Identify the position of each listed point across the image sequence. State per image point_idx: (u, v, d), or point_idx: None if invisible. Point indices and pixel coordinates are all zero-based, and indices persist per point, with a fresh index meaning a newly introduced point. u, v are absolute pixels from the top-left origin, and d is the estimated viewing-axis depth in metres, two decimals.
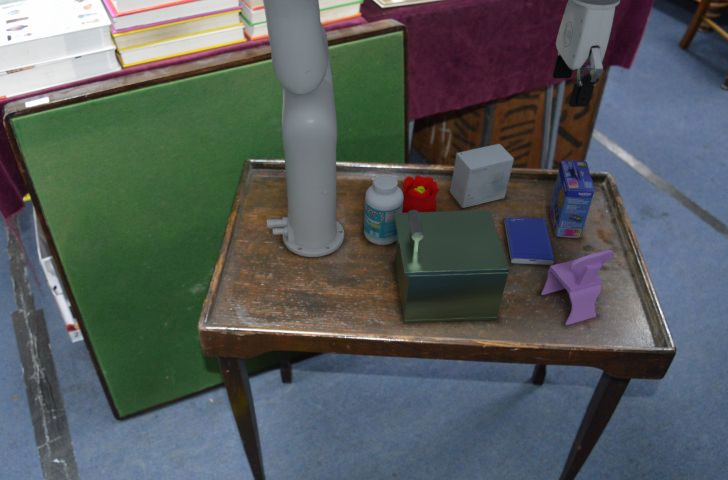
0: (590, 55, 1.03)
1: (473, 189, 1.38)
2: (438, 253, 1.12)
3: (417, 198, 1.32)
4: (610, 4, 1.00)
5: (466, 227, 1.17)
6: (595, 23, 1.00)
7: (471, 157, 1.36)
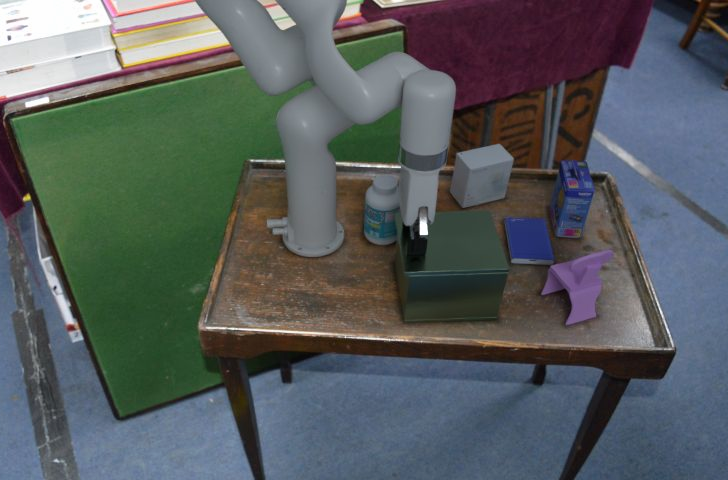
0: (418, 216, 1.04)
1: (473, 189, 1.38)
2: (438, 253, 1.12)
3: None
4: (433, 170, 1.00)
5: (466, 227, 1.17)
6: (419, 188, 1.01)
7: (471, 157, 1.36)
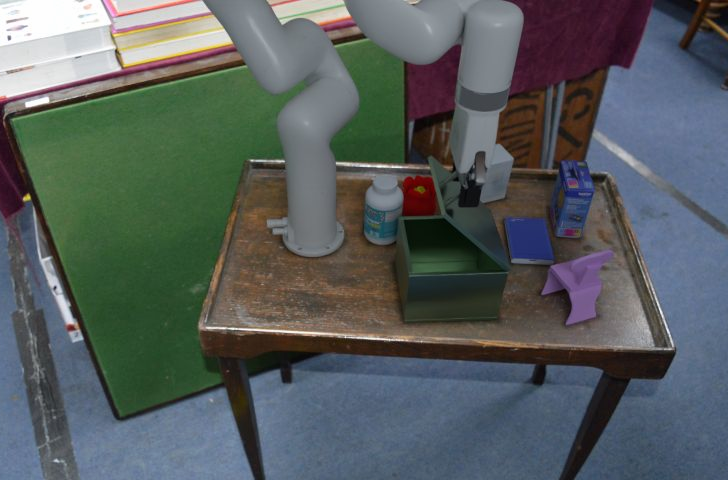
0: (475, 162, 0.97)
1: None
2: (465, 217, 1.07)
3: (417, 198, 1.32)
4: (493, 110, 0.93)
5: (479, 211, 1.15)
6: (478, 130, 0.94)
7: None
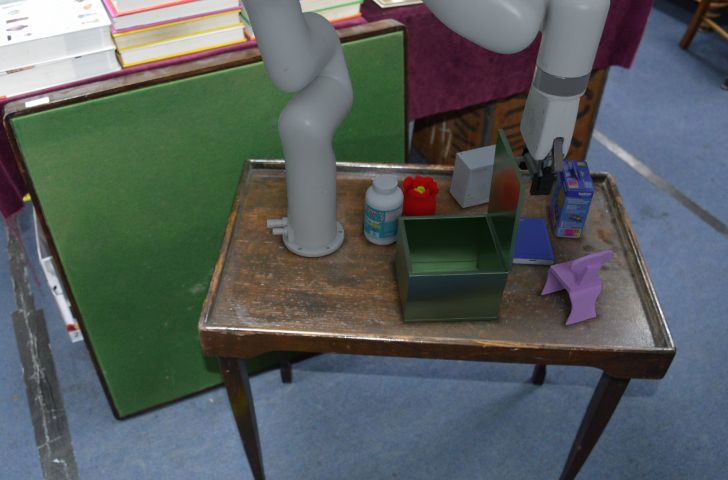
0: (552, 148, 0.96)
1: (473, 189, 1.38)
2: None
3: (417, 198, 1.32)
4: (574, 95, 0.92)
5: None
6: (558, 115, 0.93)
7: (471, 157, 1.36)
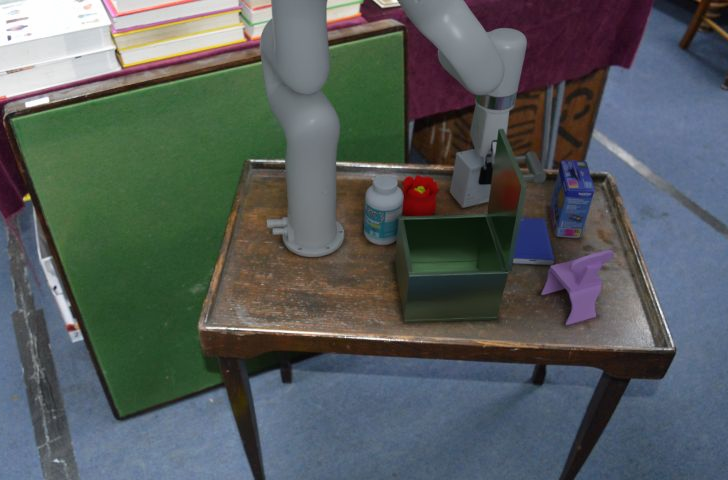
0: (491, 148, 1.29)
1: (473, 189, 1.38)
2: None
3: (417, 198, 1.32)
4: (505, 109, 1.25)
5: None
6: (493, 124, 1.26)
7: (470, 156, 1.36)
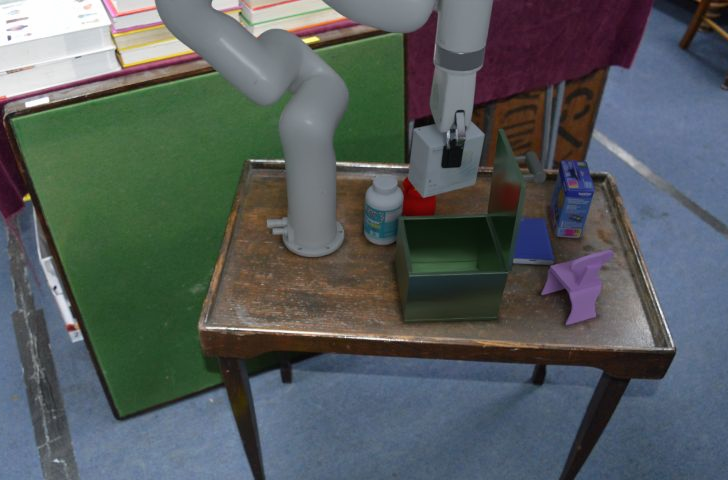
0: (455, 120, 1.02)
1: (435, 174, 1.10)
2: None
3: (417, 198, 1.32)
4: (470, 70, 0.98)
5: None
6: (456, 89, 0.99)
7: (431, 133, 1.09)
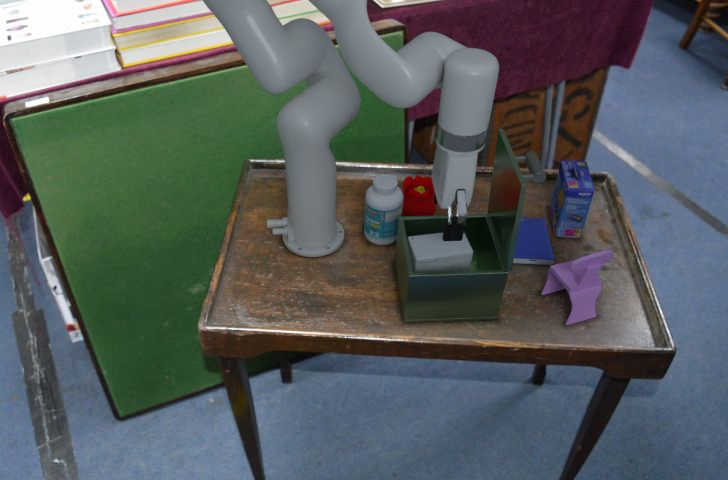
0: (456, 197, 1.02)
1: None
2: None
3: (417, 198, 1.32)
4: (472, 151, 0.98)
5: None
6: (457, 169, 0.99)
7: (422, 244, 1.16)
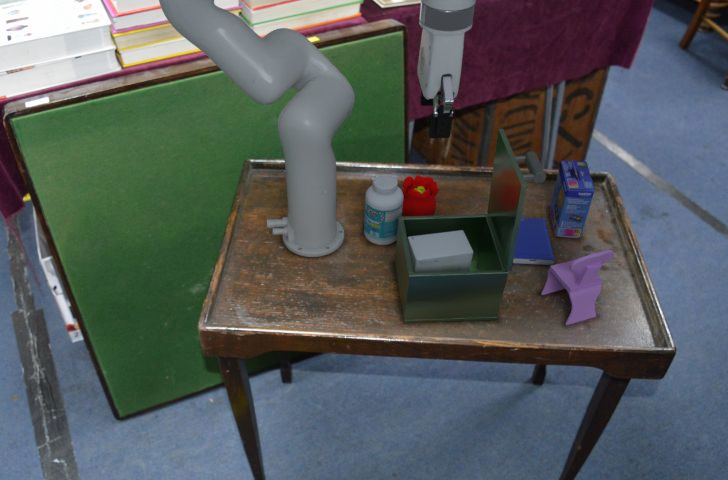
0: (442, 84, 0.95)
1: None
2: None
3: (417, 198, 1.32)
4: (458, 30, 0.91)
5: None
6: (443, 50, 0.92)
7: (422, 244, 1.16)
